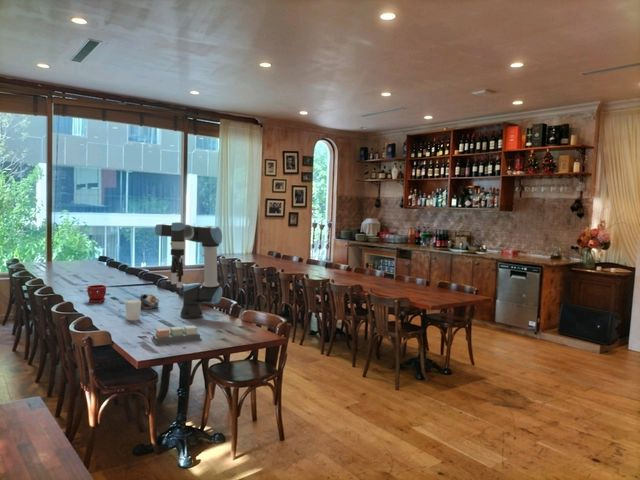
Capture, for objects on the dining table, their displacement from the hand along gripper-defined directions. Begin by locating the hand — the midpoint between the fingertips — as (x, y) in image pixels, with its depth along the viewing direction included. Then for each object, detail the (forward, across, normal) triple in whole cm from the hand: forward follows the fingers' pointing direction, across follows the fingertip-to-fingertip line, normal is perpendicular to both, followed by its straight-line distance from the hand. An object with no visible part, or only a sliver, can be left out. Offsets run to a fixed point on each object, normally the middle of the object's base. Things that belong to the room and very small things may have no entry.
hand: (176, 285), depth 286 cm
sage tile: (+28, +4, 0) cm, 29 cm away
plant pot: (+31, -121, -30) cm, 128 cm away
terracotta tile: (+28, +4, -8) cm, 30 cm away
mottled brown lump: (+31, -85, +3) cm, 91 cm away
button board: (+31, +4, 0) cm, 32 cm away
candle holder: (+31, -55, -14) cm, 65 cm away
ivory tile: (+28, +4, +8) cm, 30 cm away
